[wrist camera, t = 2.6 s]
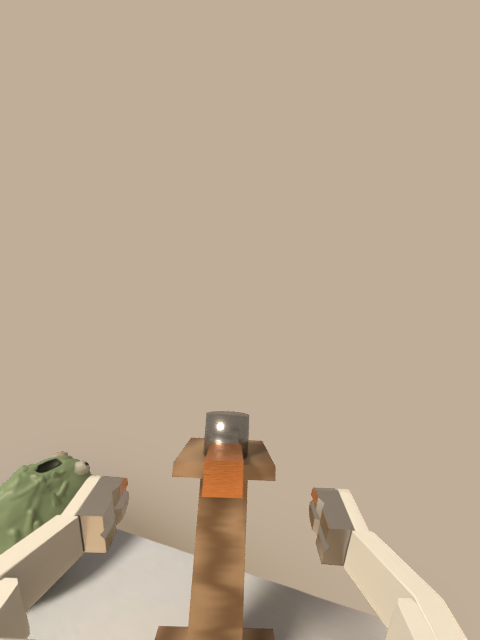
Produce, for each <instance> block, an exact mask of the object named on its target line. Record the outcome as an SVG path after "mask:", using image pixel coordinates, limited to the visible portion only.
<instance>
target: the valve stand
mask: <svg viewBox="0 0 480 640" xmlns="http://www.w3.org/2000/svg"><path fill="white" fill-rule="evenodd" d="M203 451H204V438H191V439H190V440H189V442H188V443H187V444H186V446H185V447H184V449H183V450H182V451H181V453H180V454H179V456H178V457H177V458H176V460H175V461H174V464H173V473H172V477H191V478H201V479H200V492H199V504H198V516H197V528H196V541H195V553H194V565H193V577H192V589H191V601H190V613H189V625H188V627H172V626H159V627H158V631H157V634H156V637H155V640H274V635H273V629H253V628H243V601H244V571H245V539H246V538H245V537H246V511H247V482H248V481H247V480H267V481H275V465H274V463H273V461H272V459H271V457H270V455H269V453H268V452H267V449H266V447H265V446H264V444H263V442H262V441H251V440H248V456H247V458H245V459H243V460H244V469H243V495H242V498H218V497H202V488H203V476H204V463H205V458H206V457H205V456H204V455H203Z"/></svg>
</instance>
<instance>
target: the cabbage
mask: <svg viewBox="0 0 480 640" xmlns="http://www.w3.org/2000/svg"><path fill="white" fill-rule="evenodd" d="M89 470H90V467H89V464H88V463H87V462H85V461H79V460H77V459H73V458H72V457H71V456H68V454H67V453H66V452H63V451H62V452H57V453H55V454H54V456H53V457H52V458H48V459H45V460H43V461H41V462H39V463H37V464H31V465H28V466H26V465H24V466H22V467H20V468H19V469H18V470H17V471H16V472H15V473H14V474H13V475H12V476H11V477H10V478H9V479H8V480H7V481H6V482H5V483H3V484H2V485H1V486H0V555H1V554H2V553H4V552H5V551H7V550H8V549H9V548H11V547H12V546H14V545H15V544H17V543H18V542H19V541H21V540H22V539H24V538H25V537H27V536H28V535H29V534H31V533H32V532H34V531H35V530H36V529H38V528H39V527H41V526H42V525H44V524H45V523H46V522H48V521H49V520H51V519H52V518H54V517H55V516H56V515H61V514H62V513H63V511H64V510H65V509H66V507H67V506H68V504H69V503H70V502H71V500H72V499H73V498H74V496H75V495H76V493H77V492H78V491H79V489H80V488H81V487H82V485H83V484H84V482H85V481H86V480H87V479H88V478H89V477H90V476H91V474H90V471H89ZM95 476H96V475H95Z"/></svg>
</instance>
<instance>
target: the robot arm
mask: <svg viewBox="0 0 480 640" xmlns="http://www.w3.org/2000/svg"><path fill="white" fill-rule="evenodd" d="M127 485H128V481H127V478H120V477H108V476H95V475H91V476H90V477H89V478H88V479H87V480H86V481H85V482H84V484H83V485H82V487H81V488H80V489H79V491H78V492H77V493H76V495H75V496H74V498H73V499H72V500H71V502H70V503H69V504H68V506H67V507H66V509H65V510H64V511H63V513H62V514H61V515H56V516H55V517H54V518H52V519H51V520H49V521H48V522H46V523H45V524H44V525H42V526H41V527H39V528H38V529H36V530H35V531H34V532H32V533H31V534H29V535H28V536H27V537H25V538H24V539H22V540H21V541H19V542H18V543H17V544H15V545H14V546H12V547H11V548H9V549H8V550H7V551H5V552H4V553H2V554H1V555H0V640H34V639H27V638H28V636H29V634H30V627H29V623H28V619H27V615H26V612H27V611H28V610H29V609H30V608H31V607H32V606H33V605H34V604H35V603H36V602H37V601H38V600H39V599H40V598H41V597H42V596H43V595H44V594H45V593H46V592H47V591H48V590H49V589H50V588H51V587H52V586H53V585H54V584H55V583H56V582H57V581H58V580H59V579H60V578H61V577H62V576H63V575H64V574H65V572H66V571H67V570H68V569H69V568H70V567H71V566H72V565H73V564H74V563H75V562H76V561H77V560H78V559H79V558H80V557H81V556H82V555H83V554H84V553H83V552H92V553H106V552H107V550H108V548H109V546H110V544H111V542H112V540H113V538H114V536H115V533H116V528H115V526H116V525H117V524H118V523H119V522H120V521H121V520H122V519H123V516H124V514H125V511H126V508H127V505H128V499H129V494H128V492H127V491H126V487H127ZM311 495H312V498H313V500H312V501H311V502H310V506H309V516H310V522H311V526H312V530H313V531H314V533H315V534H316V535H317V540H316V545H317V549H318V553H319V556H320V560H321V563H322V564H328V565H341V566H344V569H345V570H346V571H347V573H348V574H349V576H350V577H351V578H352V580H353V581H354V583H355V584H356V585H357V587H358V588H359V589H360V591H361V592H362V594H363V595H364V597H365V598H366V599H367V601H368V602H369V603H370V605H371V606H372V608H373V609H374V610H375V612H376V613H377V615H378V616H379V617H380V619H381V620H382V622H383V623H384V624H385V626H386V627H387V629H388V631H387V635H386V638H385V640H467V638H466V637H465V635H464V633H463V632H462V630H461V629H460V627H459V625H458V623H457V622H456V620H455V618H454V617H453V616H452V613H451V612H450V610H449V608H448V607H447V605H446V604H445V602H444V600H443V599H442V598H441V597H440V596H439V595H438V594H437V593H436V592H435V591H434V590H433V589H432V588H431V587H430V586H429V585H428V584H427V583H426V582H425V581H424V580H423V579H422V578H420V576H418V575H417V574H416V573H415V572H414V571H413V570H412V569H411V568H410V567H409V566H408V565H407V564H406V563H405V562H404V561H403V560H402V559H401V558H400V557H399V556H398V555H397V554H396V553H395V552H393V550H391V549H390V548H389V547H388V546H387V545H386V544H385V543H384V542H383V541H382V540H381V539H380V538H379V537H378V536H377V535H376V534H375V533H374V532H369V529H368V527H367V525H366V523H365V521H364V519H363V517H362V515H361V513H360V511H359V509H358V507H357V505H356V503H355V501H354V499H353V497H352V495H351V493H350V491H349V490H347V489H334V488H313V489H312V493H311Z"/></svg>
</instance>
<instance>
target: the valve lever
mask: <svg viewBox="0 0 480 640" xmlns="http://www.w3.org/2000/svg"><path fill="white" fill-rule="evenodd" d="M248 433H249V415H248V414H245V413H240V412H229V411H215V412H208V413H207V414H206V427H205V438H204V451H203V455H204V456H205V457H206V458H205V463H204V476H203V488H202V497H218V498H242V495H243V469H244V460H243V459H245V458H247V456H248V435H249V434H248Z"/></svg>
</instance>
